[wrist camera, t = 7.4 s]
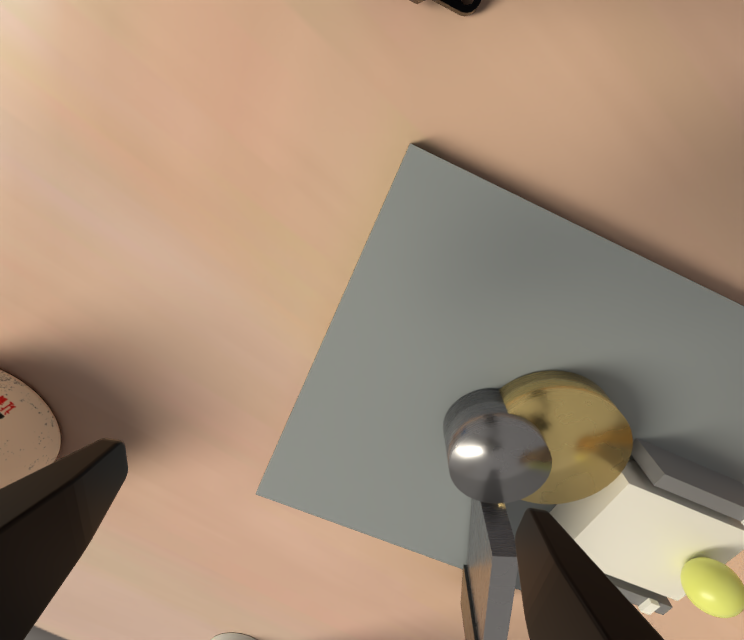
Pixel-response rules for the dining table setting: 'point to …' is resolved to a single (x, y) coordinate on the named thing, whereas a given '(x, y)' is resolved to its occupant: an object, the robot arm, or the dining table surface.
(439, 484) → the level stand
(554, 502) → the cam capstan
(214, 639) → the chalice
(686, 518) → the cam foot
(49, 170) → the dining table surface
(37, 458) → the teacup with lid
